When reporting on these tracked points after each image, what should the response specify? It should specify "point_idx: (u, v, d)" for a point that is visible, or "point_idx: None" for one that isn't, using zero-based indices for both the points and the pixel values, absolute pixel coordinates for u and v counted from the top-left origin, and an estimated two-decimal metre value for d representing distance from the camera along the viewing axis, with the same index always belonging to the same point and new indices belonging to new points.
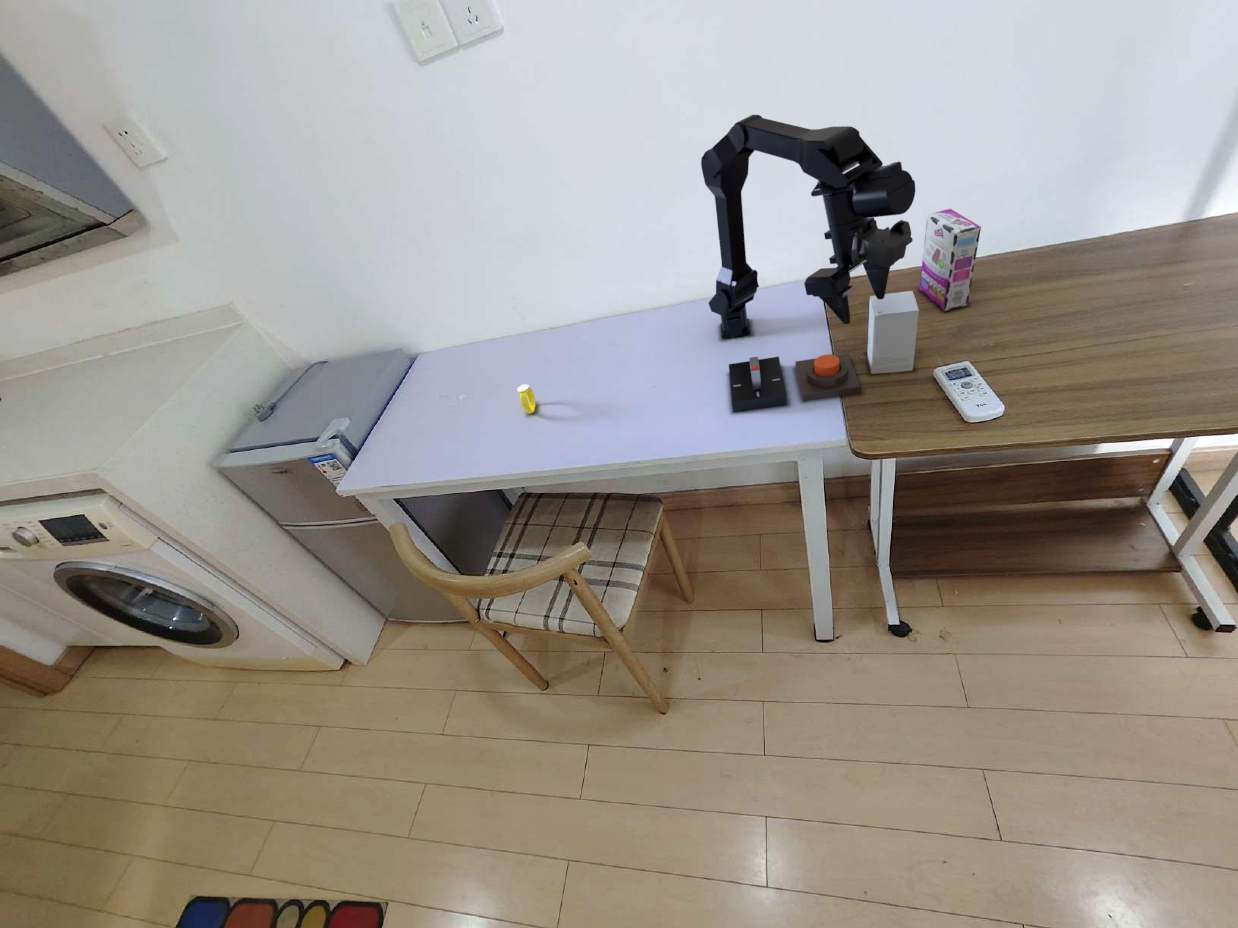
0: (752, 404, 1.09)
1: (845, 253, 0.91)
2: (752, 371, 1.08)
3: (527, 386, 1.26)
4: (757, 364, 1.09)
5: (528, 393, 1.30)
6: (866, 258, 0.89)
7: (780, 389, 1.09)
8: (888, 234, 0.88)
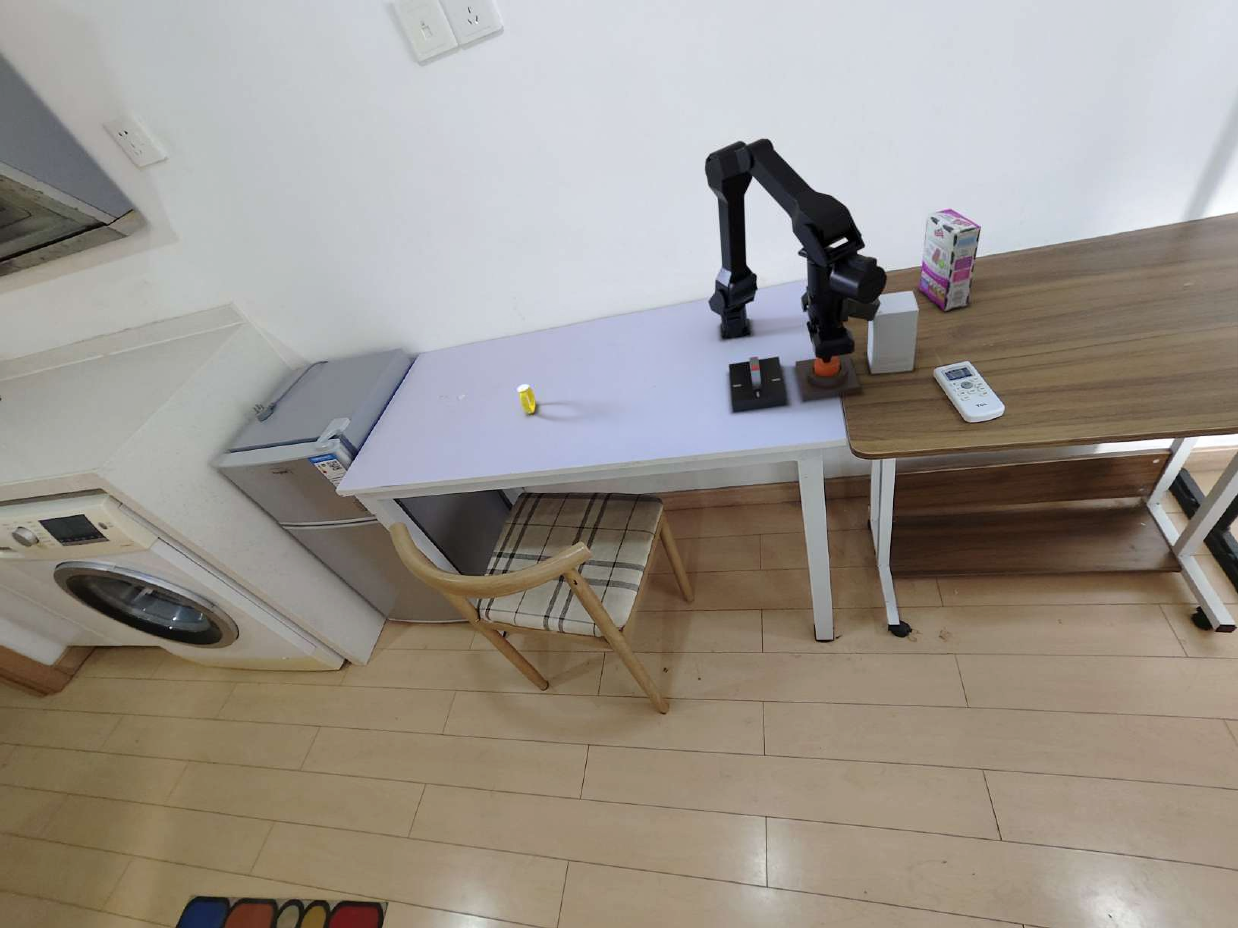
0: (752, 404, 1.09)
1: (833, 315, 0.98)
2: (752, 371, 1.08)
3: (527, 386, 1.26)
4: (757, 364, 1.09)
5: (528, 393, 1.30)
6: (853, 316, 0.98)
7: (780, 389, 1.09)
8: None
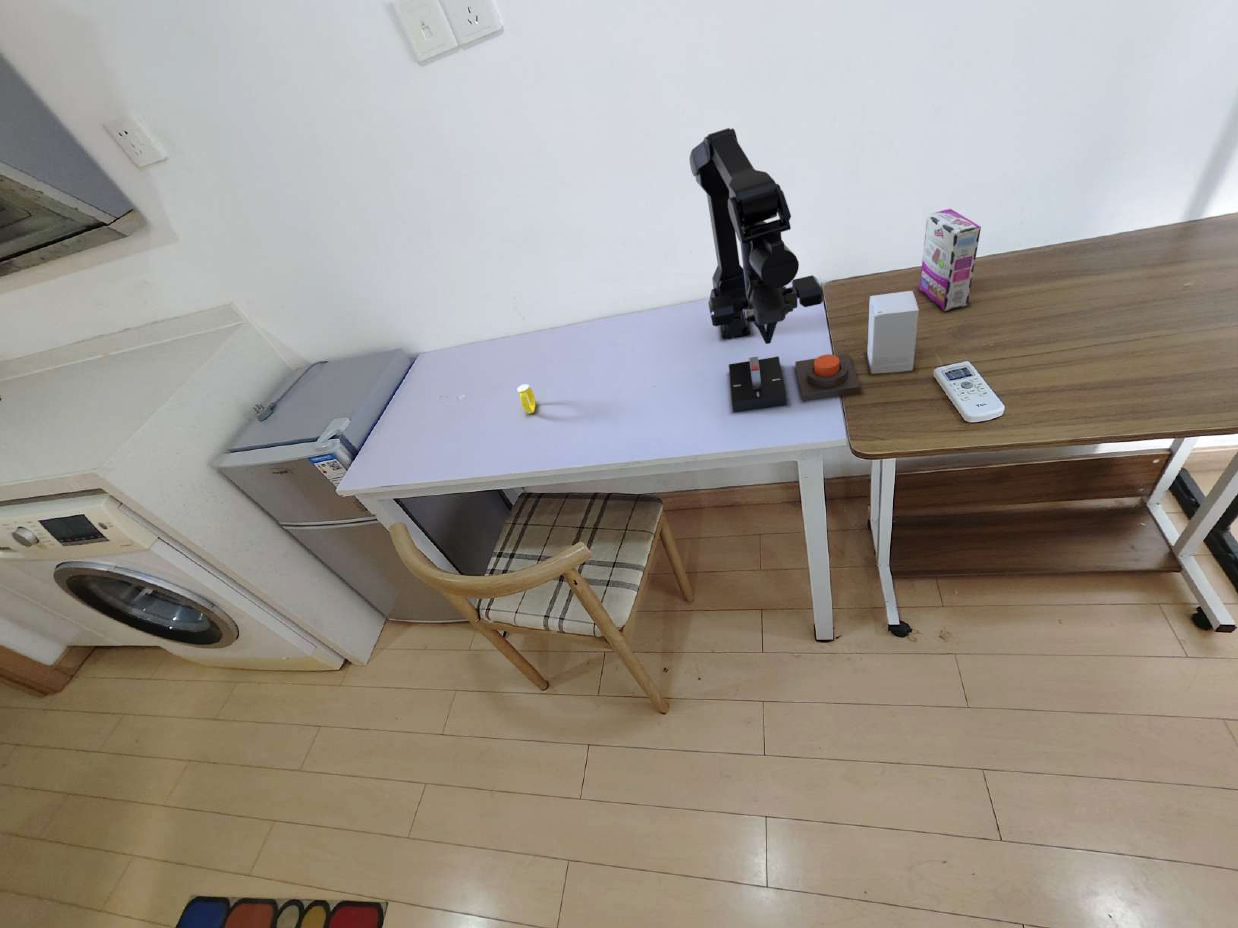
0: (752, 404, 1.09)
1: (747, 292, 0.98)
2: (752, 371, 1.08)
3: (527, 386, 1.26)
4: (757, 364, 1.09)
5: (528, 393, 1.30)
6: None
7: (780, 389, 1.09)
8: (775, 295, 0.93)
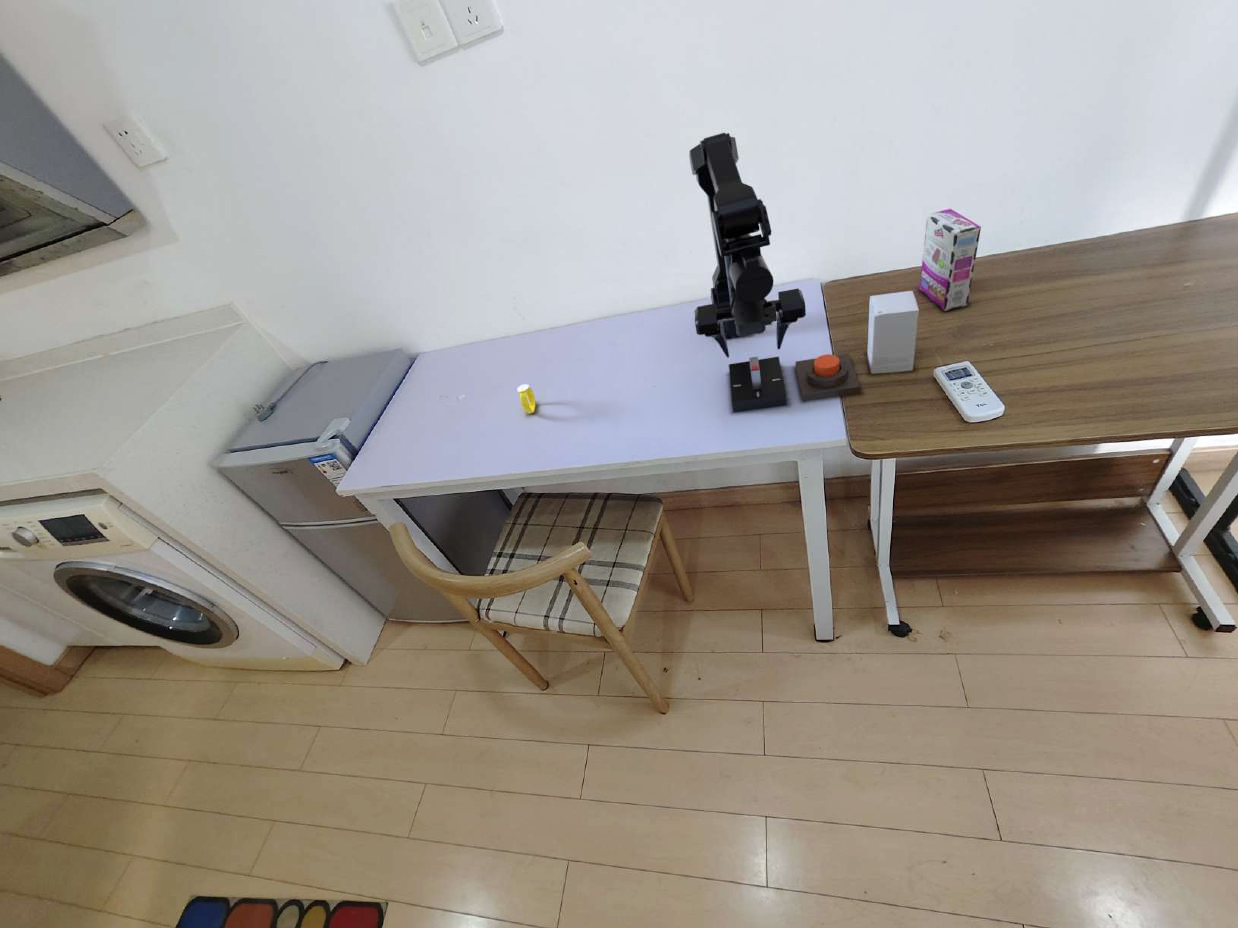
0: (752, 404, 1.09)
1: None
2: (752, 371, 1.08)
3: (527, 386, 1.26)
4: (757, 364, 1.09)
5: (528, 393, 1.30)
6: None
7: (780, 389, 1.09)
8: (755, 308, 0.95)
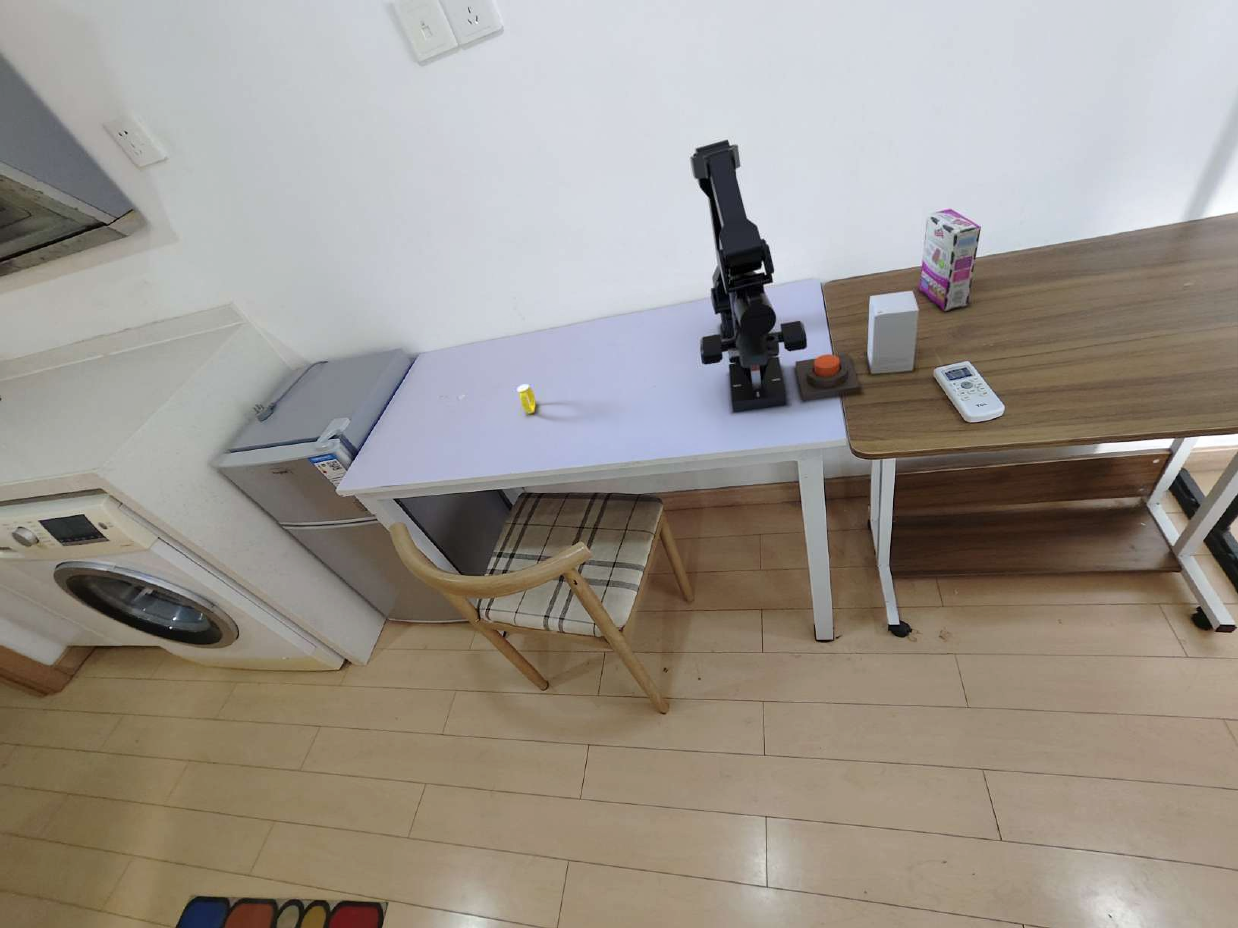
0: (752, 404, 1.09)
1: None
2: (752, 371, 1.08)
3: (527, 386, 1.26)
4: None
5: (528, 393, 1.30)
6: None
7: (780, 389, 1.09)
8: (759, 341, 0.99)
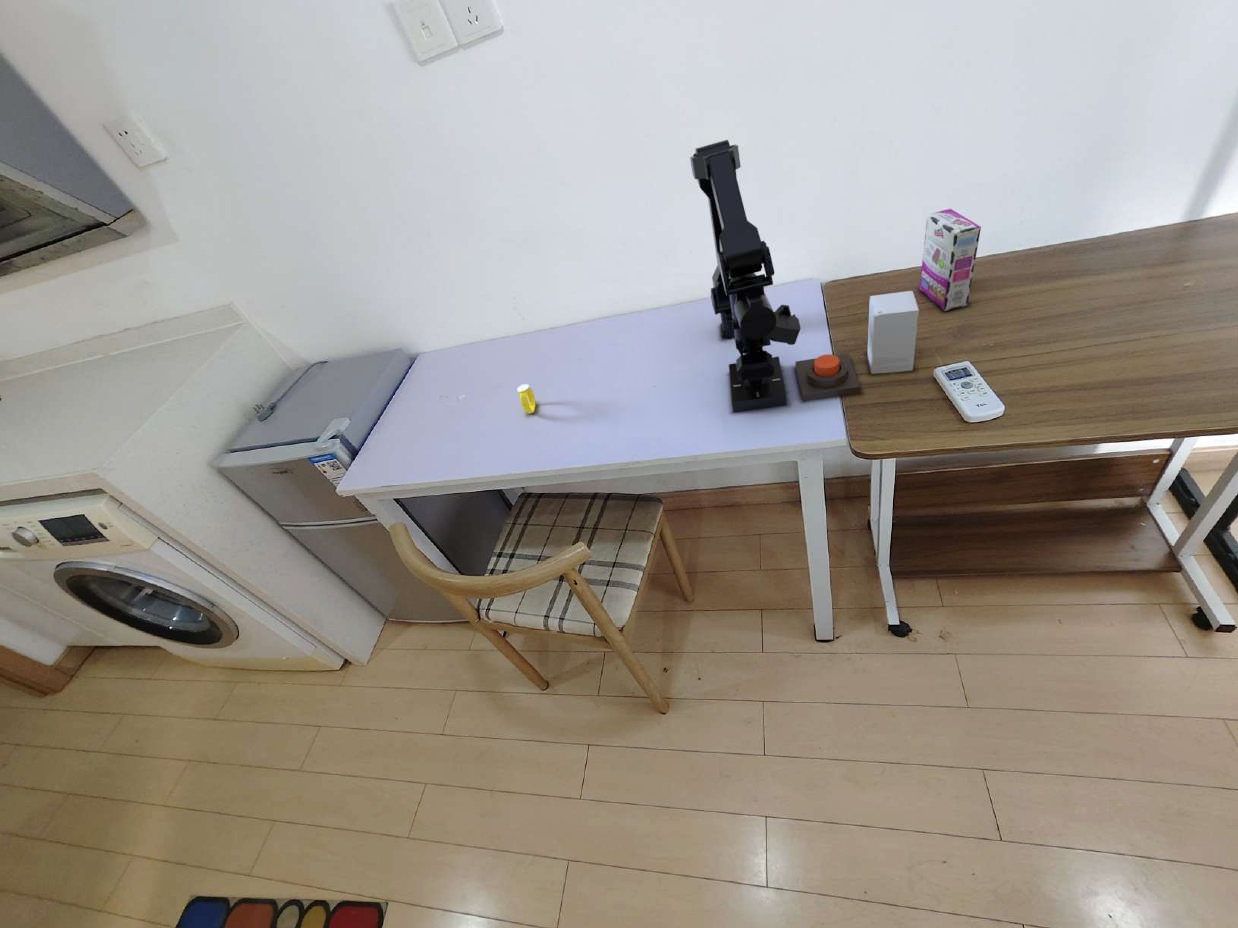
0: (752, 404, 1.09)
1: (756, 339, 1.02)
2: None
3: (527, 386, 1.26)
4: None
5: (528, 393, 1.30)
6: (775, 340, 1.02)
7: (780, 389, 1.09)
8: (782, 317, 1.03)
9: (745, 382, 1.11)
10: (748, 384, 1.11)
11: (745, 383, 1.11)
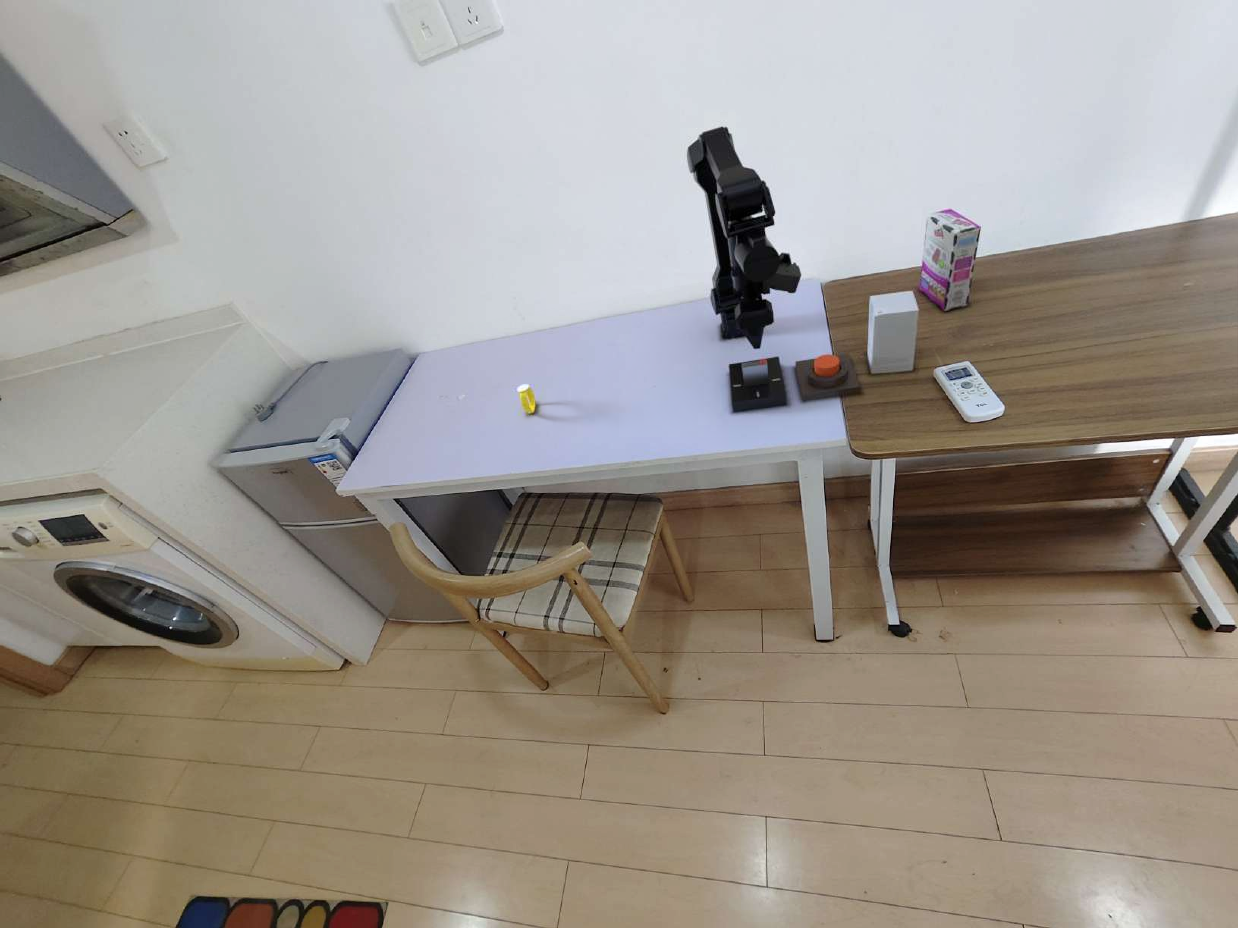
0: (752, 404, 1.09)
1: (755, 287, 0.99)
2: (766, 364, 1.08)
3: (527, 386, 1.26)
4: (756, 361, 1.09)
5: (528, 393, 1.30)
6: (775, 288, 0.99)
7: (780, 389, 1.09)
8: (782, 265, 1.00)
9: (745, 382, 1.11)
10: (748, 384, 1.11)
11: (745, 383, 1.11)
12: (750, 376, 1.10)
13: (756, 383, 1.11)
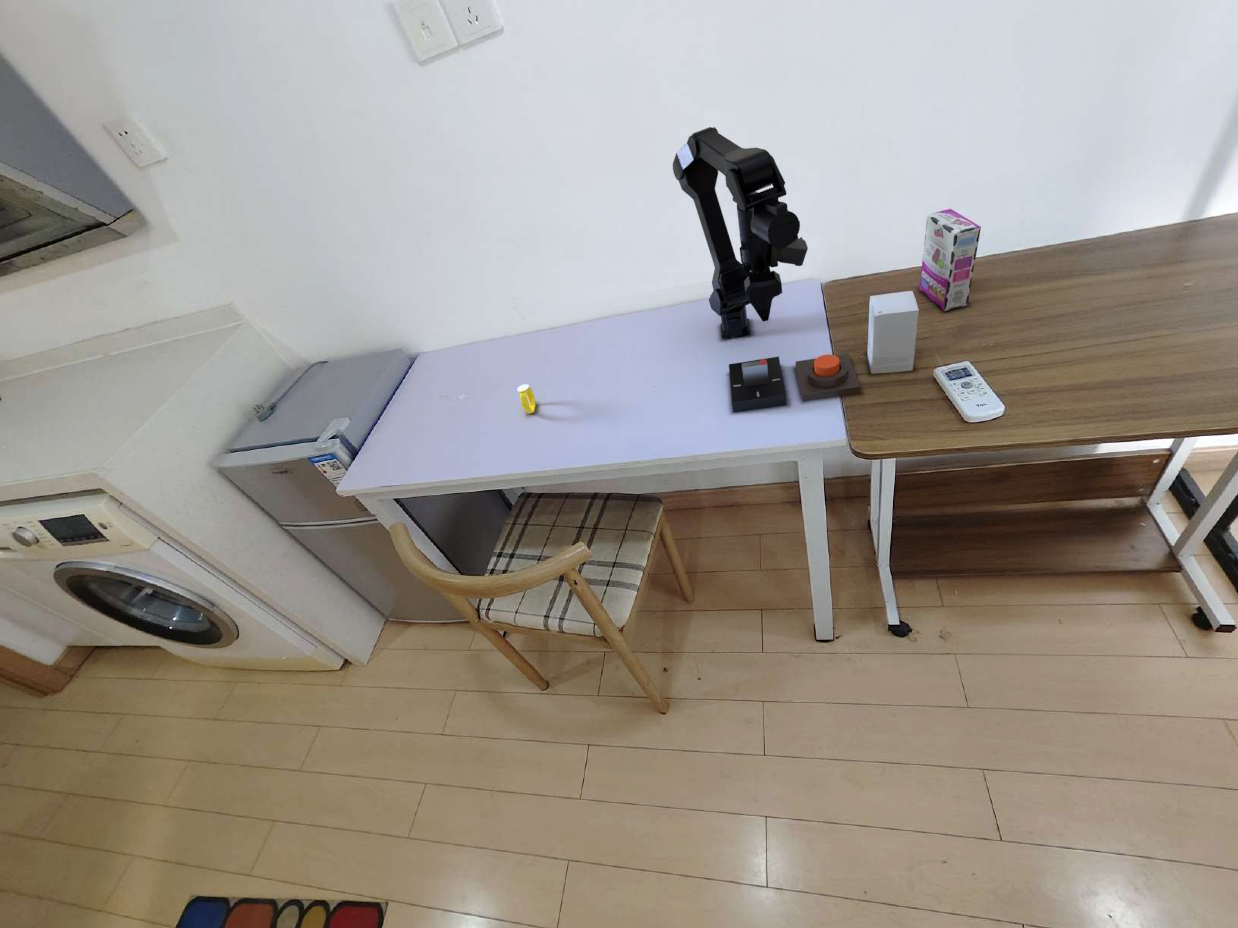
0: (752, 404, 1.09)
1: (763, 260, 1.04)
2: (766, 364, 1.08)
3: (527, 386, 1.26)
4: (756, 361, 1.09)
5: (528, 393, 1.30)
6: (783, 261, 1.04)
7: (780, 389, 1.09)
8: None
9: (745, 382, 1.11)
10: (748, 384, 1.11)
11: (745, 383, 1.11)
12: (750, 376, 1.10)
13: (756, 383, 1.11)
